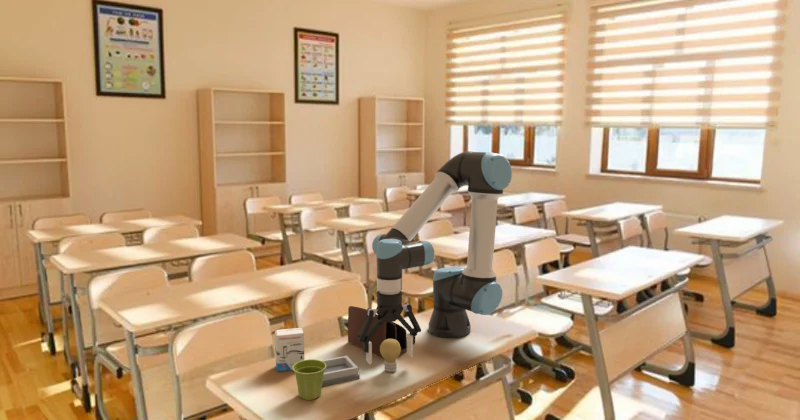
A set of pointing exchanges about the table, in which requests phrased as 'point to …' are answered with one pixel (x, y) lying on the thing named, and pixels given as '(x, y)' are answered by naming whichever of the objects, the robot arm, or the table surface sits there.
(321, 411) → the table surface
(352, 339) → the letter holder
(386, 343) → the light bulb
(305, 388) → the plant pot
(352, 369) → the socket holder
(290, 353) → the ink box
